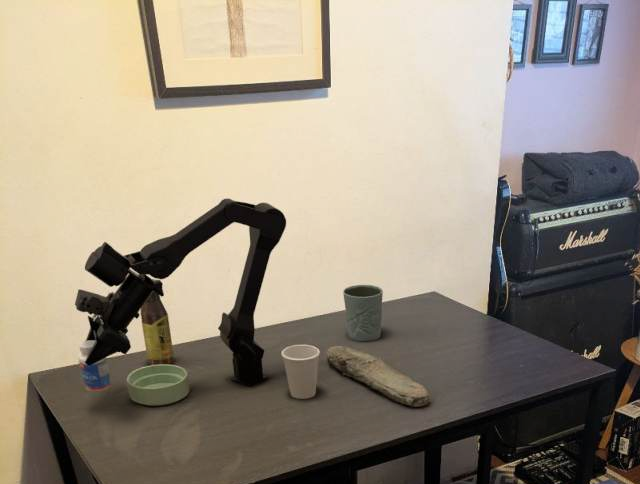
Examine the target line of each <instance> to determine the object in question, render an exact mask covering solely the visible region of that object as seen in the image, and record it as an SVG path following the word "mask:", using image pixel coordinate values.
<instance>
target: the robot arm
mask: <svg viewBox="0 0 640 484" xmlns="http://www.w3.org/2000/svg"><path fill="white" fill-rule="evenodd" d="M234 223H236V224H240V225H243V226H246V227H248V233H249V234H248V235H249V249H248V252H247V256H246V259H245V263H244V267H243V271H242V274H241V279H240V281H239V282H240V283H239V286H238V290H237V294H236V297H235V300H234V301H235V302H234V305H233V308H232V309H231V310H230V312H228V313H226V312H225V311H224V312H222V313H221V320H220V321H221V322H220V324H219V326H218V327H217V330H218V331H219V338H220V339H221V341H222V342H223V344H225V346H226V347H228V348H227V349H229V350H230V351H231V352H232V367H233V374H234V375H233V376H230V378H229V380H230V381H232V382H235V383H237V384H240V385H242V386H245V387H253V386H254V385H256V384H258V383H261V382H263V381H265V380H267V379H269V375H268V374H266V373H264V369H263V358H264V355H265V349H264V348H263V347H262V346H261V345H260V344H259V343H258V342H257V341H256V340H255V330H256V329H255V312H256V308H257V305H258V300H259V297H260V294H261V290H262V286H263V283H264V278H265V274H266V271H267V267H268V264H269V261H270V256H271V253H272V252H273V251H274V249H275V248H276V246H277V245H278V244H279V243H280V241H281V239H282V237H283V234H284V232H285V230H286V227H287V219H286V216H285V214H284V213H283V212H282V210H280V209H278V207H277V208H276V207H275V206H274V205H272V204H269V203H268V202H259V203H257V204H254V203H248V202H245V201H238V200H234V199H232V198H229V197H228V198H223V199H221V201H220V202H219V203H218V204H217V205H215V206H214V207H212V208H211V209H209V210H208V211H206V212H205V213H204V214H202V215H200V216H199V217H197V218H196V219H195V220H193V221H192V222H190V223H189V224H187V225H186V226H185V227H183V228H181V229H180V230H179V231H178V232H176V233H174V234H172V235H170V236H166V237H162V238H159V239H157V240H155V241H152V242H150V243H147V244H146V245H144V246H143V247H141V249H140V250H139V251H136V252H132V253H128V254H125V255H123V254H122V253H120V252H119V251H118V250H116V249H114V247H113V246H112V245H111V244H110V243H108V242H106V241H104V242H103V243H102V245H100V246H98V247H97V248H95V250H94V251H92V252H91V253H90V254H89V256H88V258H87V260H86V262H85V264H84V270H85V271H86V272H88V273H89V274H91V275H92V276H93V277H95V278H96V279H97V280H100V281H101V282H102V283H104V284H105V285H106V286H108V287H109V288H112V287H114V286H115V287H118V288H117V290H116V291H115V292H113V291H111V292H109V293H108V294H107V296H105V295H102V294H100V293H99V294H98V293H95V292H91V291H88V290H85V289H77V294H76V298H75V302H74V306H75V309H76V310H77V311H79V312H81V313H88V314H89V315H87V320H88V323H89V331H88V333H87V336H86V338H85V341H89V340H95V343H94V345H93V347H92V349H91V351H90V353H89V355H88V357H87V359H86V361H85V363H86V364H87V365H89V366H90V365H92V364H94V363H96V362H98V361H100V360H102V359H104V358H106V359H107V357H109V356H113V355H114V354H117V353H121V354H122V355H127V354H128V353H129V351H130V350H131V348H132V346H131V341H130V339H129V337H128V335H127V334H128V332H129V329H128V328H129V325H130V324H131V323H132V321H133V320H134V319H136V320H138V319H139V317H141V313H140V311H141V308H142V306H143V305H144V304H145V302H146V301H147V299H148V298H149V297H150V295H151V294H152V293H153V291H154V292H156V293H157V294H159V296H160V297H164V296H165V293H164V289H163V282H162V281H161V280H165V279H167V278H169V277H171V275H172V274H173V273H174V272H175V271H176V270H177V269H178V268H179V267H180V266H181V264H182V263H183V262H184V260H185V258H186V257H187V256H188V255H189V254H190V253H191V252H193V251H195V250H196V249H197V248H199V247H200V246H202V245H203V244H205V243H206V242H207V241H209V240H210V239H212V238H213V237H215V236H216V235H218V234H219V233H220V232H222V231H224V230H225V229H226V228H228V227H229V226H231V225H232V224H234ZM148 275H149V276H148ZM152 279H156V280H152ZM90 315H91V316H90Z"/></svg>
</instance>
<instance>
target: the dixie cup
mask: <svg viewBox="0 0 640 484" xmlns="http://www.w3.org/2000/svg"><path fill="white" fill-rule="evenodd" d="M320 354H321V350H319V348H318V347H316V346H313V345H310V344H293V345H290V346H286V347H285V348H284V349H282V351H281V356H282V358H283V364H284V368H285V369H284V370H285V374H286V378H287V385H288V388H289V394H290V396H291V397H292V398H295V399H299V400H306V399H311V398H313V397H314V396H315V395H316V393H317V381H318V369H319V356H320Z"/></svg>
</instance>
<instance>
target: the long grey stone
mask: <svg viewBox="0 0 640 484" xmlns="http://www.w3.org/2000/svg"><path fill="white" fill-rule="evenodd" d="M326 361H327V363H330V364H331V365H332V366H333V367H335V369H337V370H339V371H340V372H342V376H347V377H348V378H353V379H354V380H356V381H358V382H360V383H364V384H365V385H367V386H369V387H370V388H371V389H372V390H376V391H378V392H380V393H382V394H383V395H384V396H386V397H387V398H389V399H391V400H393V401H394V402H397V403H400V404H401V405H406V406H409V407H414V408H416V407H417V408H418V407H424V406H426V405H428V404H429V402H430V394H429V392H428V390H427V389H426V387H424V386H423V385H422V384H421V383H418V382H416V381H414V380H413V379H411V378H410V377H409V376H407V375H406V374H403V373H401V372H400V371H397V370H396V369H394V368H392V367H391V366H390V365H388V364H386V363H385V361H384V360H382V358H380V357H376V356H374V355H372V354H371V353H370V354H369V353H367V352H366V351H361V350H359V349H354V348H351V347H348V346H344V345H336V346H335V345H333V346H330V347H329V348H328V349H327V350H326Z"/></svg>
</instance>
